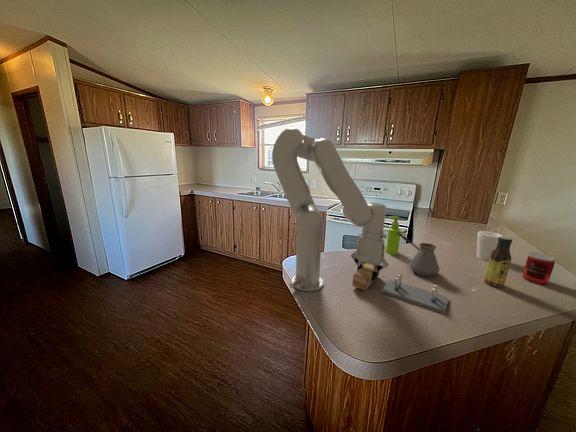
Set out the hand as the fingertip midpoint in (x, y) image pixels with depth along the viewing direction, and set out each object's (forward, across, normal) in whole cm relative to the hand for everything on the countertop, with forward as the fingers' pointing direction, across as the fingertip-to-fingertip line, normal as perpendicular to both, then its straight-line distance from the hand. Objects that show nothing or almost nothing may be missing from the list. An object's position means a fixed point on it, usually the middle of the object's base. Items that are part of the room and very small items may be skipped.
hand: (366, 276), depth 95 cm
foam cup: (+1, -40, -62) cm, 74 cm away
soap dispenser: (+2, 0, -40) cm, 40 cm away
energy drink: (+3, +10, -22) cm, 25 cm away
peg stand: (+2, -18, -2) cm, 18 cm away
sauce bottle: (+2, -42, -32) cm, 52 cm away
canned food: (+1, -56, -46) cm, 72 cm away
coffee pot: (+2, -13, -26) cm, 29 cm away
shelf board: (+2, 0, 0) cm, 2 cm away
